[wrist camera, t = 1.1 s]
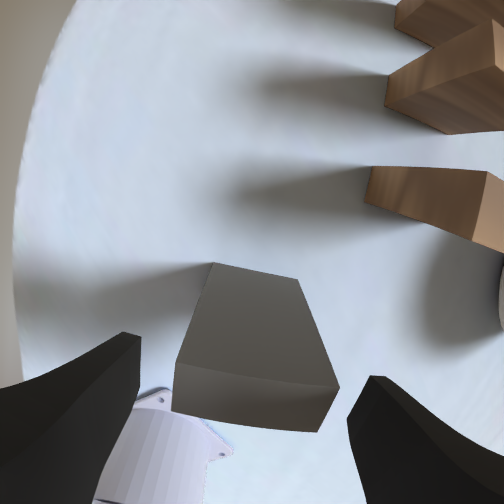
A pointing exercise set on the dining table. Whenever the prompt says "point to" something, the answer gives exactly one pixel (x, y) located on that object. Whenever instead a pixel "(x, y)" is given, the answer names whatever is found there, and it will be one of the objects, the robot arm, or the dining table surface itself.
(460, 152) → the dining table surface
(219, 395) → the domino
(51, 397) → the robot arm
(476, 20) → the domino
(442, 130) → the domino
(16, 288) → the dining table surface
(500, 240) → the domino
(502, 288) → the teacup
